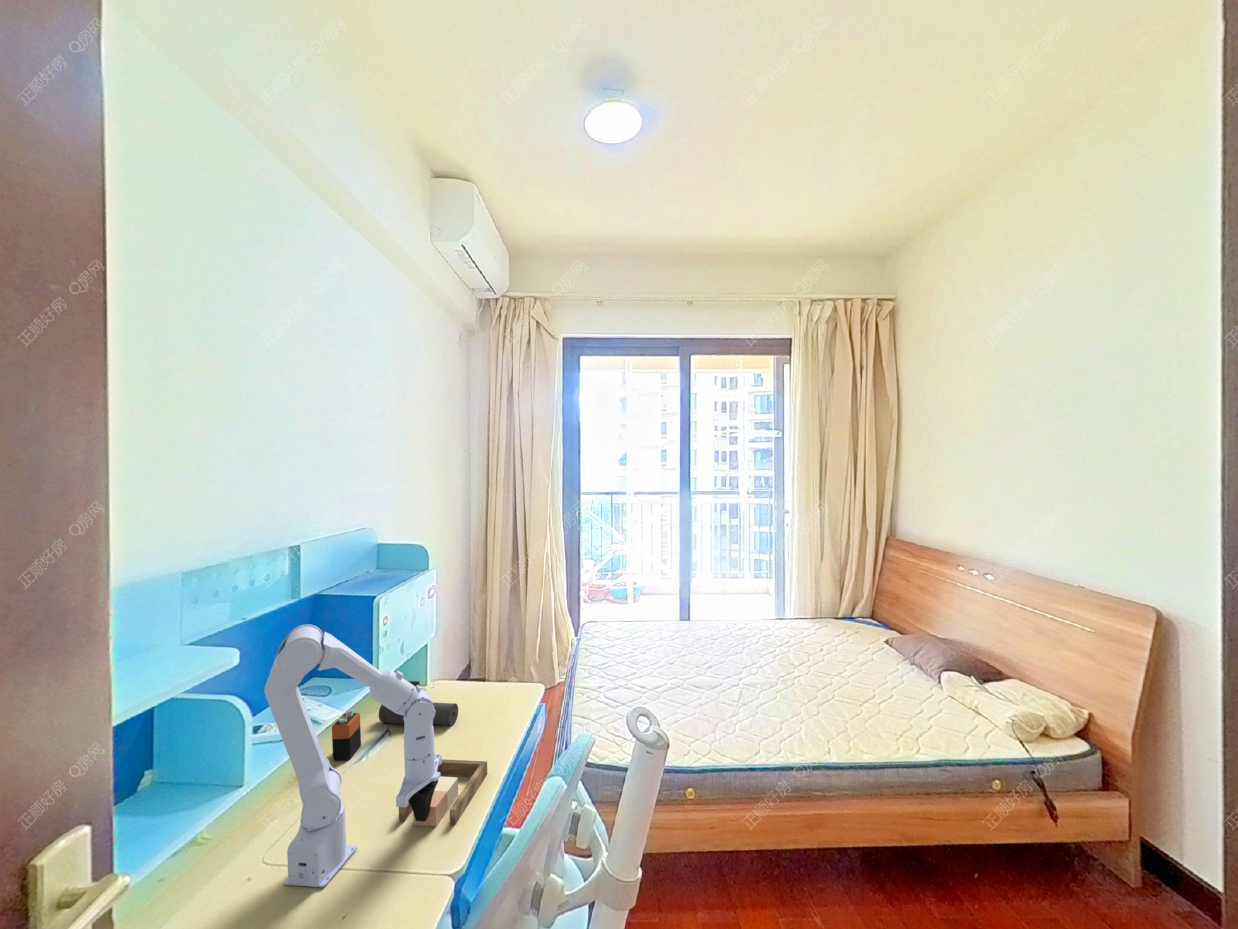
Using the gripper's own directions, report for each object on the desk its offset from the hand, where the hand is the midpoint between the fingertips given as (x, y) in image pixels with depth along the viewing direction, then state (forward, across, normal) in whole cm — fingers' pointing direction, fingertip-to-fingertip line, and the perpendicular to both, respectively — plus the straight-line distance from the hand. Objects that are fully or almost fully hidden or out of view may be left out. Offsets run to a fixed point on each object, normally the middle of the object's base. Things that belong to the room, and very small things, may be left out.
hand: (422, 819), depth 105 cm
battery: (+2, +25, +34) cm, 42 cm away
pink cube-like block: (+2, +4, 0) cm, 4 cm away
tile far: (+2, +9, 0) cm, 9 cm away
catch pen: (+2, +10, 0) cm, 10 cm away
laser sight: (+3, +42, +24) cm, 48 cm away
